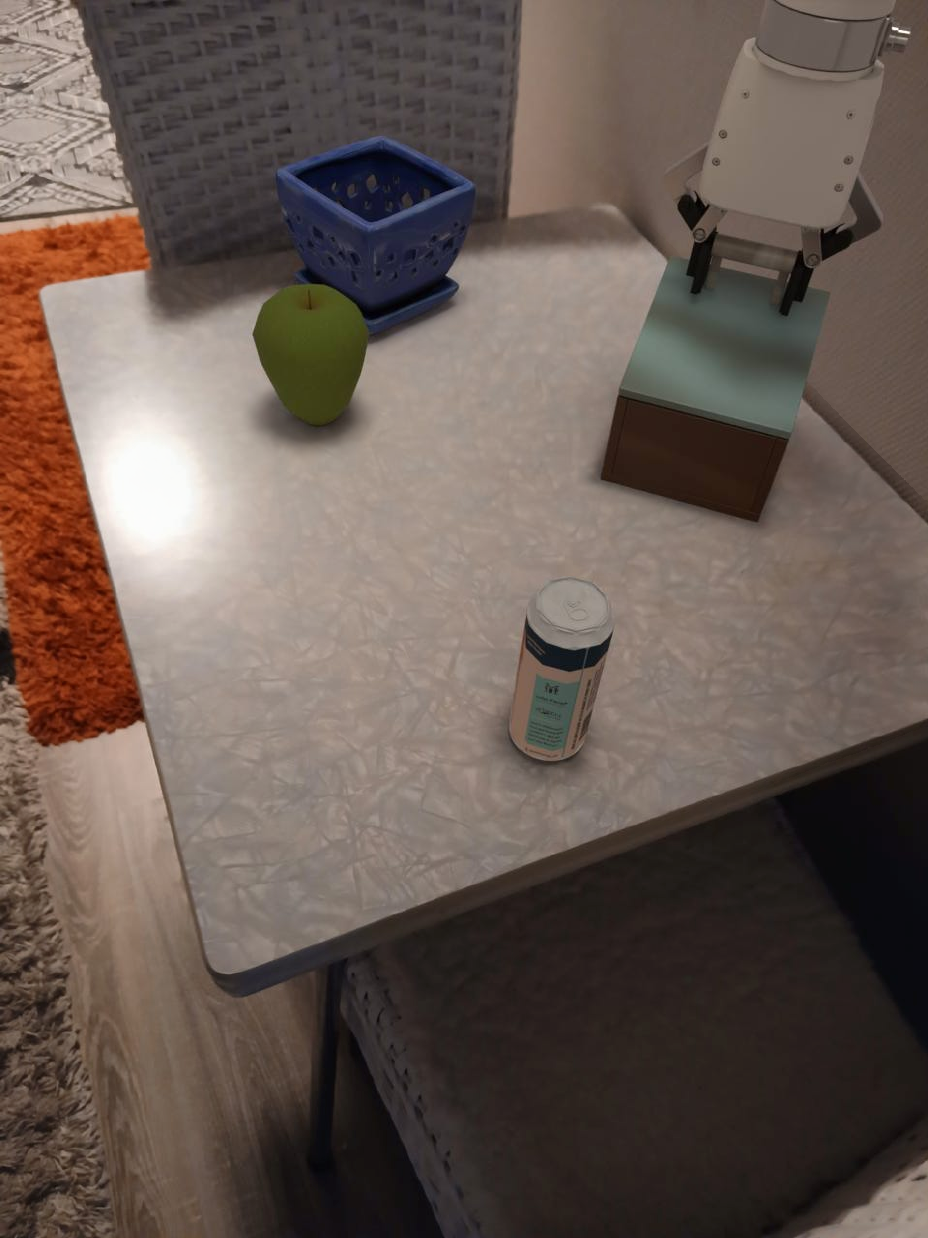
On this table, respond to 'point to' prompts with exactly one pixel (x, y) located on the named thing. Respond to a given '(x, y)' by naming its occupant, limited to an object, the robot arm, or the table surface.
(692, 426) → the chest
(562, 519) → the table surface
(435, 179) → the flower pot
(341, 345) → the apple
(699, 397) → the lid
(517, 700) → the beer can
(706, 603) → the table surface
